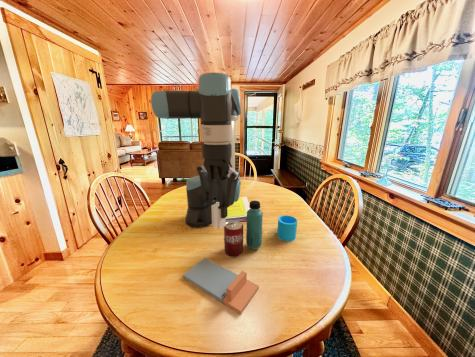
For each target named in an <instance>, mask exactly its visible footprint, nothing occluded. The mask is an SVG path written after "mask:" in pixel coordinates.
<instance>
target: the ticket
mask: <svg viewBox="0 0 475 357" xmlns="http://www.w3.org/2000/svg"><path fill="white" fill-rule="evenodd" d="M238 275H239V274H237V273H235V272H233V271H231V270H229V269H228V268H226V267H223V266H222V265H219V264H217V263H216V262H214V261H212V260H210V259H208V258H206V257H204V258H202V259H201V260H200V261H198V262H197V263H195V265H194V266H192V267H191V268H190V269H189V270H188V271H186V272H185V273H184V274H183V275H182V276H183V279H185V280H186V281H187V282H189V283H191V284H192V285H194V286H196V287H197V288H198V289H200V290H202V291H203V292H205V293H206V294H208V295H210V297H212V298H214V299H216V300H217V301H219V302H220V303H223V299H224V298H225V297H226V296H227V287H228V286H229V285H230V284H231V283H232V282H233V280H234V279H235V278H236V277H237V276H238Z"/></svg>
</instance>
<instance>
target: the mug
mask: <svg viewBox="0 0 475 357" xmlns="http://www.w3.org/2000/svg"><path fill="white" fill-rule="evenodd" d="M297 228H298V219H297V218H296V217H294V216H292V215H286V214H285V215H280V216H278V218H277V229H276V230H277V231H276V232H277V234H276V236H277V238H278V239H279V240H282V241H284V242H292V241H295V240H296V238H297Z"/></svg>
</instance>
